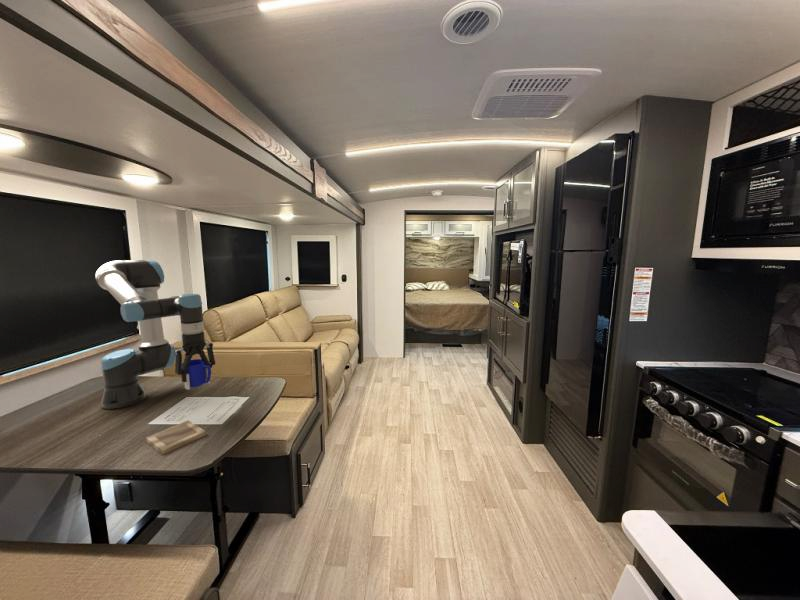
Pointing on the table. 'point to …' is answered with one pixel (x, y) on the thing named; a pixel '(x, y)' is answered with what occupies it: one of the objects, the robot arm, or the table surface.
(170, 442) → the trivet
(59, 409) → the table surface
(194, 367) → the mug
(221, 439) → the table surface
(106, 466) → the table surface
